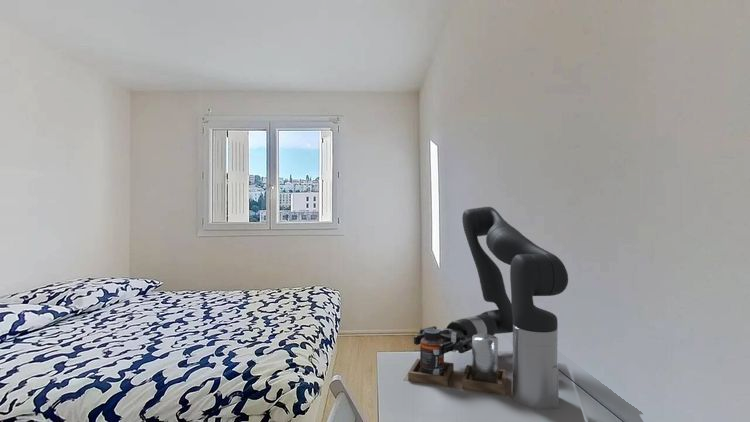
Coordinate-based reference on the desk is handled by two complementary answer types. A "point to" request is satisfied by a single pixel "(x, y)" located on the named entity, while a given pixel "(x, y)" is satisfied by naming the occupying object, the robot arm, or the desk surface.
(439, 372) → the supplement bottle
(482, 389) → the wooden double tray
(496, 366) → the seated can
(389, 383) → the desk surface
